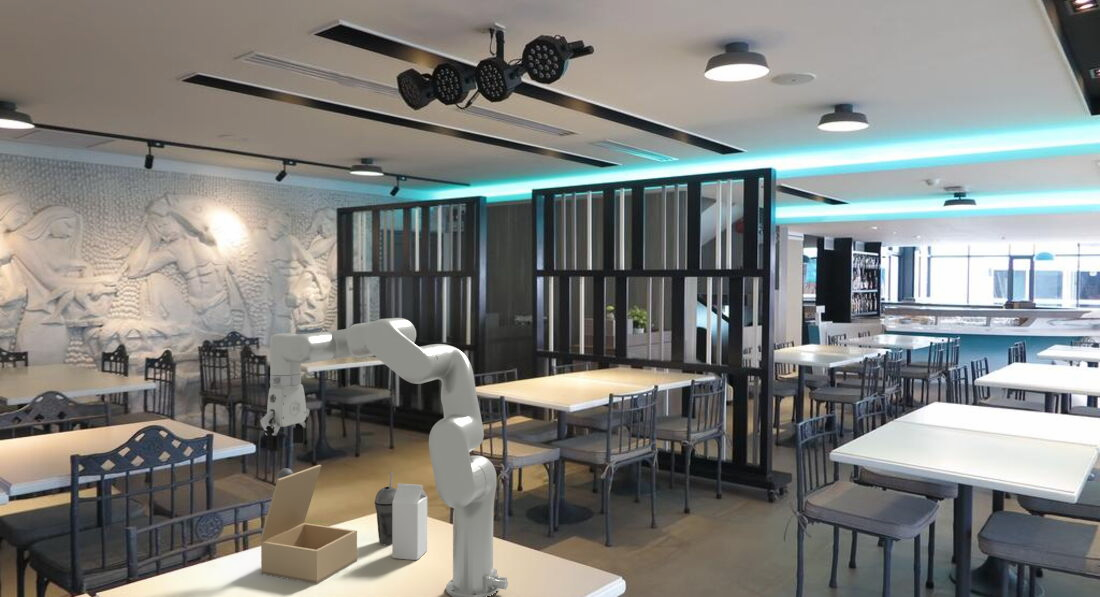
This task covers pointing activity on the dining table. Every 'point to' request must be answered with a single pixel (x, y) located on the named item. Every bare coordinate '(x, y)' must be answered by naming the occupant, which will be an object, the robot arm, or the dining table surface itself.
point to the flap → (290, 500)
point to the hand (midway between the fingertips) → (286, 446)
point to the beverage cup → (385, 513)
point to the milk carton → (409, 522)
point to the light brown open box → (309, 552)
